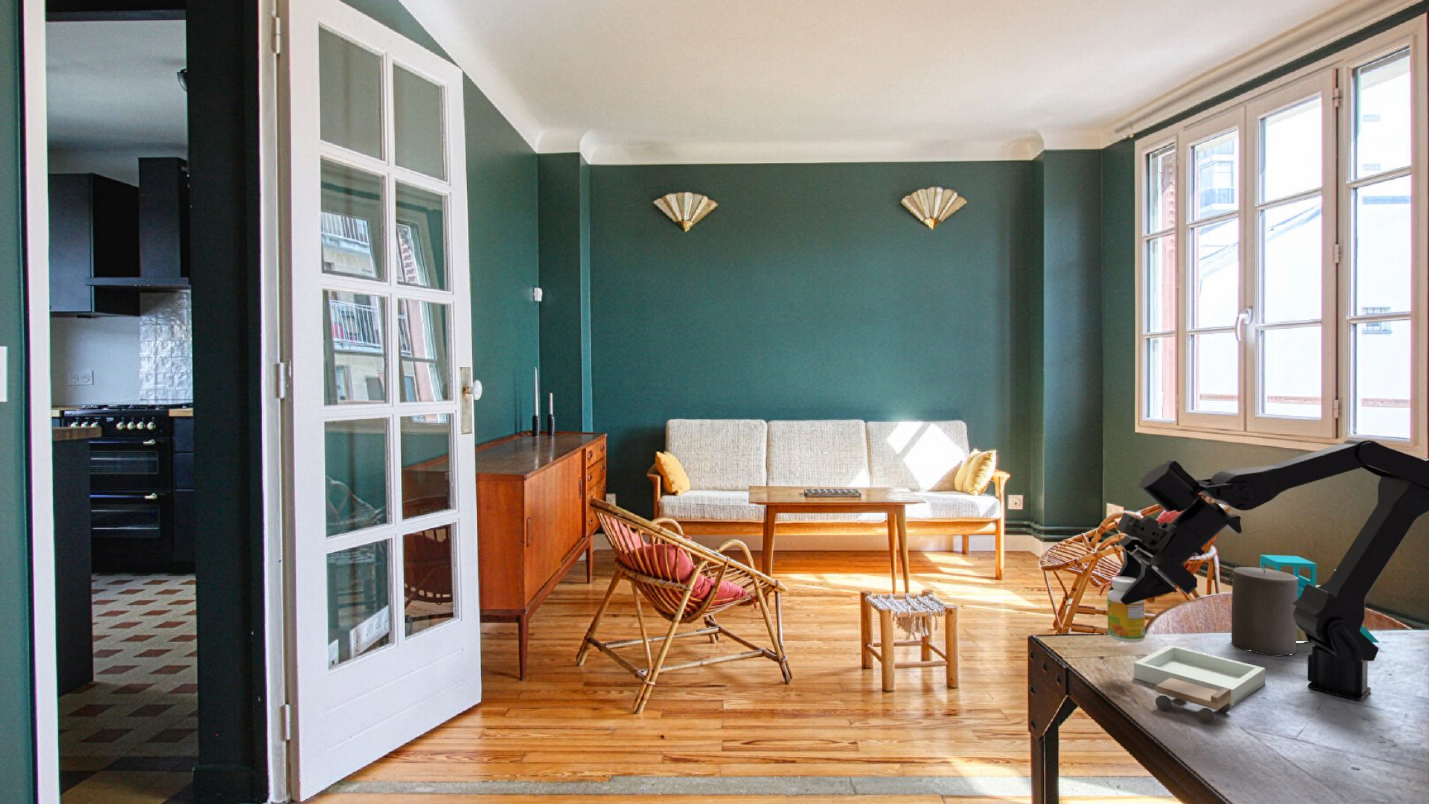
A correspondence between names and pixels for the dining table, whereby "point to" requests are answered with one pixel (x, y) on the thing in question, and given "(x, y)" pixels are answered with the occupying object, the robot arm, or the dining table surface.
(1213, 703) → the cart
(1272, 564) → the toy train
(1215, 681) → the tray
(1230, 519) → the robot arm
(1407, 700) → the dining table surface
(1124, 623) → the supplement bottle
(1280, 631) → the pillar candle
